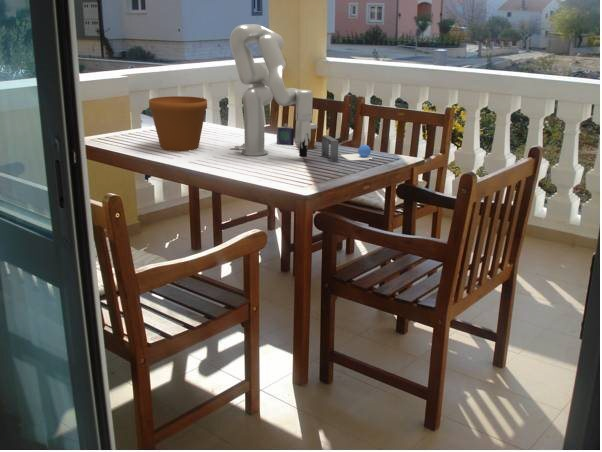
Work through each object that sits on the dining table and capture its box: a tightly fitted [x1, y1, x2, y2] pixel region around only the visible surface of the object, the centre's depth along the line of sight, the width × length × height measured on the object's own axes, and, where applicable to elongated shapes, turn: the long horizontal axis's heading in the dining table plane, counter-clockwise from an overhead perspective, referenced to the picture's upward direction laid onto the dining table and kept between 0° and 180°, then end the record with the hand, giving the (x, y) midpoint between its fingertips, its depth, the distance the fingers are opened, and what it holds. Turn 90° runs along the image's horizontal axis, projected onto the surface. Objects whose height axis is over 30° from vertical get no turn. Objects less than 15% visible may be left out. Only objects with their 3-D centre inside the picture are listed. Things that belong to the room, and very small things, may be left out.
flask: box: [276, 123, 295, 146], centre depth 357 cm, size 9×3×11 cm, turn 71°
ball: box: [357, 144, 372, 157], centre depth 331 cm, size 6×6×6 cm
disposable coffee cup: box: [307, 122, 318, 149], centre depth 350 cm, size 10×10×12 cm
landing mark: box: [339, 153, 373, 162], centre depth 331 cm, size 13×13×1 cm
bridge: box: [320, 134, 339, 163], centre depth 326 cm, size 3×15×10 cm, turn 17°
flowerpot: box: [148, 95, 208, 152], centre depth 342 cm, size 28×28×24 cm
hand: (303, 156), depth 323 cm, fingers closed
